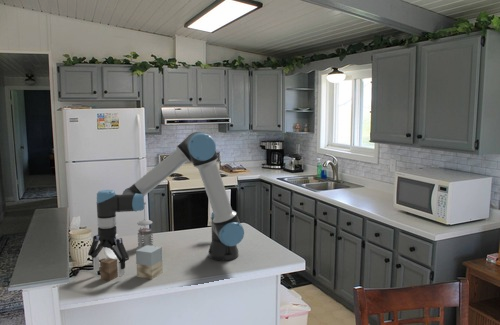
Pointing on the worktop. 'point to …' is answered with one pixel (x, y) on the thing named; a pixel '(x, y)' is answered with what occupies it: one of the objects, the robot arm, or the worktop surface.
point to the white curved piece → (110, 252)
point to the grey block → (149, 255)
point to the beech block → (149, 270)
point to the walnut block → (108, 269)
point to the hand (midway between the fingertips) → (108, 273)
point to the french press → (145, 233)
